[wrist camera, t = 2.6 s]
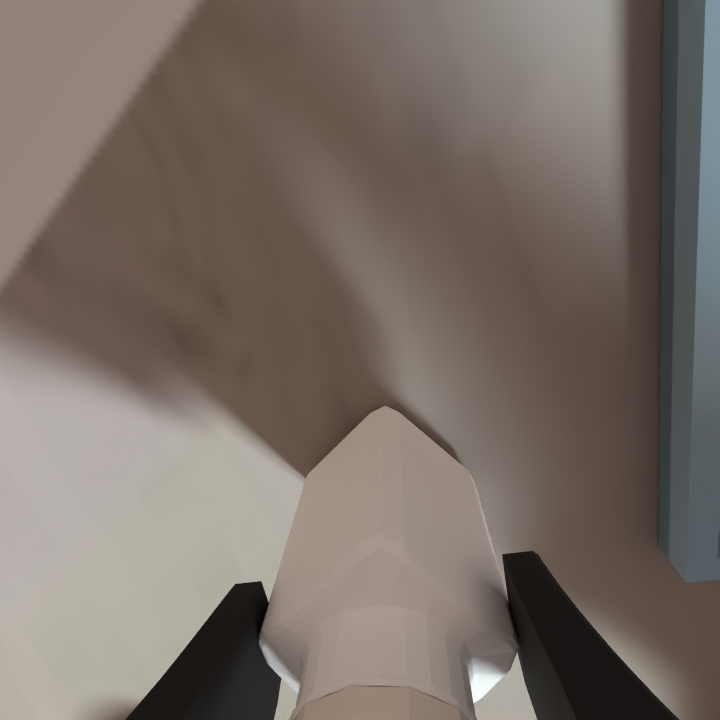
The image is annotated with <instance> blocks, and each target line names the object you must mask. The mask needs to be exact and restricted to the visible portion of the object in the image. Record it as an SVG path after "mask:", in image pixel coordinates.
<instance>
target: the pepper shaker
mask: <svg viewBox="0 0 720 720" xmlns="http://www.w3.org/2000/svg"><path fill="white" fill-rule="evenodd" d="M259 645H260V647H261V650H262V652H263V654H264V657H265V659H266V661H267V663H268V665H269V666H270V667H271V668H272V669H273V670H274V671H275V672H276V673H277V674H278V675H279V676H280V677H281V678H282V679H283V680H284V681H285V682H286V683H287V684H288V685H289V686H290V687H291V688H292V689H293V690H294V691H295V692H296V693H297V694H298V698H297V703H296V708H295V709H294V710H293V712H292V714H291V717H290V719H289V720H477V719H476V716H475V710H474V704H473V703H475V702H476V701H478V700H479V699H480V698H482V697H483V696H484V695H485V694H486V693H487V692H488V691H489V690H490V689H491V688H492V687H493V686H494V685H495V684H496V683H497V682H498V681H499V680H500V679H501V678H502V677H503V676H505V675H506V673H507V672H508V671H509V670H510V669H511V666H512V664H513V661H514V659H515V656H516V653H517V651H518V648H519V639H518V635H517V632H516V628H515V625H514V621H513V618H512V614H511V611H510V607H509V603H508V599H507V595H506V591H505V588H504V584H503V581H502V577H501V574H500V570H499V567H498V563H497V559H496V556H495V552H494V549H493V545H492V542H491V538H490V535H489V531H488V528H487V524H486V520H485V517H484V513H483V510H482V506H481V503H480V499H479V496H478V492H477V488H476V485H475V482H474V480H473V478H472V476H471V474H470V472H469V471H468V470H467V469H466V468H465V467H463V466H462V465H461V464H460V463H459V462H457V461H456V460H455V459H454V458H453V457H452V456H450V455H449V454H448V453H447V452H446V451H444V450H443V449H442V448H441V447H440V446H439V445H437V444H436V443H435V442H434V441H433V440H431V439H430V438H429V437H428V436H427V435H426V434H424V433H423V432H422V431H421V430H420V429H418V428H417V427H416V426H415V425H414V424H413V423H411V422H410V421H409V420H408V419H407V418H405V417H404V416H403V415H402V414H401V413H399V412H398V411H396V410H394V409H391V408H389V407H387V406H383V407H381V408H379V409H377V410H375V411H373V412H371V413H370V414H369V415H368V416H367V417H366V418H365V419H364V420H363V421H362V422H360V423H359V424H358V425H357V426H356V427H355V428H354V429H353V430H352V431H351V432H350V433H349V434H348V435H347V436H346V437H345V438H344V439H343V440H342V441H341V442H340V443H339V444H338V445H337V446H336V447H335V448H334V449H333V450H332V451H331V452H330V453H329V454H328V455H327V456H326V457H325V458H324V459H323V460H322V461H321V462H320V463H319V464H318V465H317V466H316V467H315V468H314V469H313V470H312V471H311V472H310V473H308V475H307V478H306V481H305V483H304V486H303V489H302V493H301V496H300V500H299V503H298V506H297V510H296V513H295V516H294V520H293V523H292V526H291V530H290V533H289V537H288V540H287V543H286V547H285V550H284V553H283V557H282V560H281V563H280V567H279V570H278V574H277V577H276V580H275V584H274V587H273V590H272V594H271V597H270V601H269V604H268V607H267V611H266V614H265V618H264V621H263V624H262V628H261V631H260V634H259Z"/></svg>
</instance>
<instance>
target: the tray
mask: <svg viewBox="0 0 720 720" xmlns="http://www.w3.org/2000/svg"><path fill="white" fill-rule="evenodd" d="M658 546H659V548H660V549H661V550H662V552H663V553H664V554H665V556H666V557H667V558H668V560H669V561H670V562H671V564H672V565H673V566H674V568H675V569H676V570H677V572H678V573H679V574H680V576H681V577H682V578H683V580H684V581H685V582H686V583H694V582H705V581H715V580H720V0H663V57H662V177H661V298H660V418H659V539H658Z"/></svg>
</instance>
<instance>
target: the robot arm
mask: <svg viewBox="0 0 720 720" xmlns="http://www.w3.org/2000/svg"><path fill="white" fill-rule="evenodd" d="M502 556H503V564H504V572H505V580H506V587H507V595H508V603H509V607H510V611H511V614H512V618H513V621H514V625H515V628H516V632H517V635H518V639H519V648H518V651H517V652H518V656H519V660H520V664H521V668H522V672H523V676H524V680H525V684H526V687H527V690H528V693H529V696H530V699H531V702H532V705H533V708H534V711H535V714H536V717H537V720H679V719H678V718H677V717H676V716H675V715H674V714H673V713H672V712H671V711H670V710H669V709H668V708H667V707H666V706H665V705H664V704H663V703H662V702H661V701H660V700H659V699H658V698H657V697H656V696H655V695H654V694H653V693H652V692H651V691H650V689H649V688H648V687H647V686H646V685H645V684H644V683H643V682H642V681H641V680H640V679H639V678H638V677H637V676H636V675H635V674H634V673H633V671H632V670H631V669H630V668H629V667H628V666H627V665H626V664H625V663H624V662H623V661H622V659H621V658H620V657H619V656H618V655H617V654H616V653H615V652H614V651H613V650H612V648H611V647H610V646H609V645H608V644H607V643H606V641H605V640H604V639H603V638H602V637H601V636H600V634H599V633H598V632H597V631H596V630H595V629H594V627H593V626H592V625H591V624H590V623H589V622H588V621H587V619H586V618H585V617H584V616H583V614H582V613H581V612H580V611H579V610H578V608H577V607H576V606H575V605H574V603H573V602H572V601H571V599H570V598H569V597H568V596H567V594H566V593H565V592H564V591H563V589H562V588H561V587H560V585H559V584H558V583H557V581H556V580H555V578H554V577H553V576H552V574H551V573H550V571H549V570H548V569H547V567H546V566H545V564H544V563H543V561H542V560H541V558H540V557H539V555H538V554H536V553H535V552H533V551H528V552H519V553H510V554H502ZM268 604H269V602H268V600H267V597H266V594H265V591H264V588H263V585H262V582H261V581H259V582H250V583H241V584H235V585H234V586H233V588H232V589H231V590H230V591H229V593H228V594H227V595H226V596H225V598H224V599H223V600H222V601H221V603H220V604H219V605H218V607H217V608H216V609H215V610H214V612H213V613H212V614H211V616H210V617H209V618H208V619H207V621H206V622H205V623H204V625H203V626H202V627H201V628H200V630H199V631H198V632H197V634H196V635H195V636H194V637H193V639H192V640H191V641H190V643H189V644H188V645H187V646H186V648H185V649H184V650H183V651H182V653H181V654H180V655H179V656H178V658H177V659H176V660H175V661H174V663H173V664H172V665H171V666H170V668H169V669H168V670H167V671H166V673H165V674H164V675H163V676H162V678H161V679H160V680H159V681H158V682H157V684H156V685H155V686H154V687H153V688H152V689H151V691H150V692H149V693H148V694H147V695H146V696H145V698H144V699H143V700H142V701H141V702H140V703H139V705H138V706H137V707H136V708H135V709H134V710H133V712H132V713H131V714H130V715H129V716H128V717H127V719H126V720H274V716H275V712H276V707H277V703H278V697H279V690H280V683H281V677H280V676H279V675H278V674H277V673H276V672H275V671H274V670H273V669H272V668H271V667H270V666H269V665H268V663H267V661H266V659H265V657H264V654H263V652H262V650H261V647H260V645H259V634H260V631H261V628H262V624H263V621H264V618H265V614H266V611H267V607H268Z"/></svg>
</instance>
